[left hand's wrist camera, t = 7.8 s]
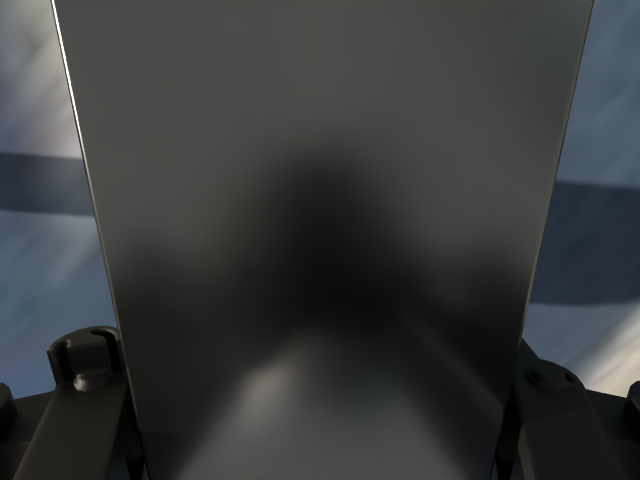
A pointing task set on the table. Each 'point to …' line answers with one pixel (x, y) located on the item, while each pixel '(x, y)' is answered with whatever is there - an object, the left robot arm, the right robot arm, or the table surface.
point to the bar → (321, 221)
